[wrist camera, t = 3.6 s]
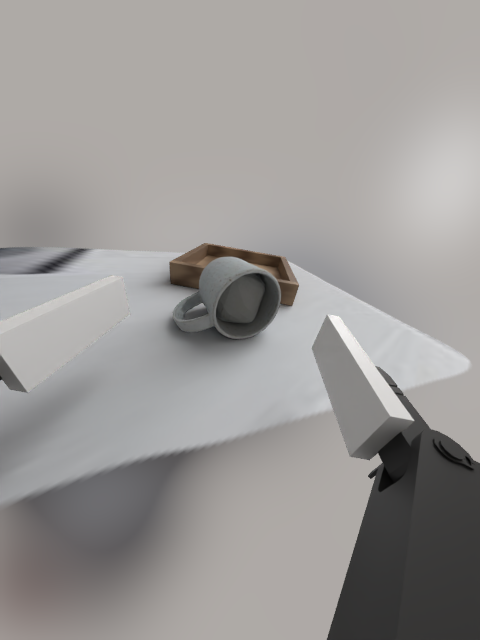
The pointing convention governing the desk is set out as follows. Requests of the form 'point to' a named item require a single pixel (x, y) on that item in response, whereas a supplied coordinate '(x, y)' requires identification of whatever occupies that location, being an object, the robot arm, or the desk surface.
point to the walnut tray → (194, 261)
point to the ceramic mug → (232, 299)
